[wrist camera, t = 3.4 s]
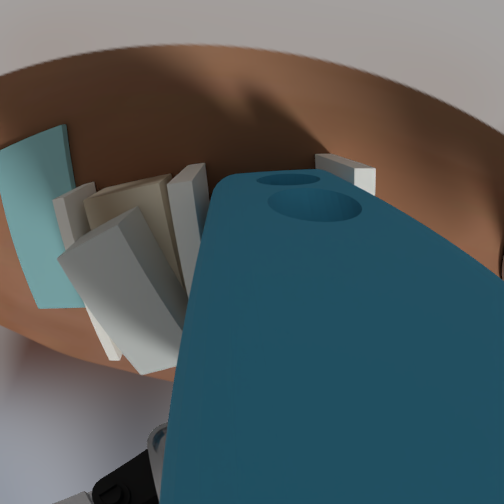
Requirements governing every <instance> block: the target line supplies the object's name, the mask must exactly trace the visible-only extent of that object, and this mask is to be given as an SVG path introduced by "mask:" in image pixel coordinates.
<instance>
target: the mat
mask: <svg viewBox="0 0 504 504" xmlns="http://www.w3.org/2000/svg"><path fill="white" fill-rule="evenodd" d="M75 188H76V185H75V180H74V175H73V169H72V163H71V157H70V150H69V143H68V135H67V126H66V124H63V125H59V126H56V127H54V128H51V129H48V130H46V131H43V132H41V133H38V134H36V135H33V136H31V137H28V138H26V139H24V140H21V141H19V142H17V143H15V144H12V145H10V146H8V147H6V148H4V149H2V150H0V193H1V198H2V202H3V206H4V210H5V214H6V218H7V222H8V226H9V229H10V233H11V236H12V240H13V243H14V246H15V249H16V252H17V255H18V258H19V261H20V264H21V267H22V269H23V272H24V275H25V277H26V280H27V282H28V285H29V287H30V290H31V292H32V295H33V297H34V299H35V302H36V304H37V306H38V308H39V309H42V308H79V307H85V304H84V302H83V300H82V298H81V297H80V295H79V294H78V293H77V291H76V289H75V288H74V286H73V285H72V283H71V282H70V280H69V279H68V277H67V275H66V274H65V272H64V271H63V269H62V267H61V266H60V264H59V262H58V261H57V258H58V257H59V256H60V255H61V254H62V253H63V252H64V251H65V247H64V244H63V240H62V237H61V233H60V230H59V226H58V222H57V218H56V214H55V210H54V206H53V201H52V200H53V199H55V198H57V197H59V196H61V195H63V194H65V193H67V192H69V191H71V190H73V189H75Z"/></svg>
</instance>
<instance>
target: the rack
mask: <svg viewBox="0 0 504 504" xmlns="http://www.w3.org/2000/svg"><path fill="white" fill-rule="evenodd" d="M315 167H316V169H321V170H325V171H328V172H330V173H332V174H334V175H336V176H338V177H340V178H342V179H344V180H346V181H348V182H350V183H352V184H353V185H355V186H357V187H359V188H361V189H363V190H365V191H367V192H368V193H370V194H372V195H374V196H375V178H376V168H373V167H371V166H368V165H365V164H362V163H359V162H356V161H353V160H350V159H347V158H344V157H340V156H337V155H334V154H331V153H330V154H315ZM167 189H168V196H169V202H170V208H171V214H172V220H173V225H174V231H175V236H176V242H177V247H178V252H179V257H180V262H181V267H182V272H183V277H184V281H185V286H186V290H187V295H188V299H189V294H190V290H191V285H192V280H193V275H194V270H195V266H196V261H197V256H198V252H199V247H200V243H201V238H202V234H203V230H204V225H205V221H206V217H207V213H208V208H209V204H210V200H209V192H208V184H207V175H206V167H205V163H199V164H191V165H187V166H186V167H185V168H184V169H183V170H182V171H181V172H180V173H179V174H177V175H176V176H175V177H174V178H173V179H172V180H171V181H170V182H169V183H168V184H167ZM95 193H96V188H95V183H94V182H91V183H86V184H83V185H81V186H79V187H77V188H75V189H73V190H71V191H69V192H67V193H65V194H63V195H61V196H59V197H57V198H55V199H53V200H52V201H53V206H54V210H55V214H56V218H57V222H58V226H59V230H60V233H61V237H62V240H63V244H64V247H65V250H67V249H68V248H69V247H70V246H71V245H72V244H73V243H74V242H75V241H77V240H78V239H79V238H80V237H81V236H83V235H84V234H86V233H88V232H90V231H91V229H90V225H89V222H88V218H87V214H86V211H85V207H84V203H83V200H85V199H86V198H88V197H90V196H91V195H93V194H95ZM83 302H84V301H83ZM84 304H85V303H84ZM85 307H86V309H87V312H88V314H89V317H90V319H91V321H92V324H93V326H94V328H95V330H96V333H97V335H98V337H99V339H100V341H101V344H102V346H103V348H104V350H105V352H106V354H107V356H108V358H109V360H120V358H121V356H122V352H121V351H120V350H119V348H118V347H117V346H116V345H115V343H114V342H113V341H112V340H111V338H110V337H109V336H108V334H107V333H106V332H105V330H104V329H103V328H102V326H101V325H100V324H99V322H98V321H97V320H96V318H95V317H94V316H93V314H92V313H91V311H90V310H89V309H88V307H87V306H86V304H85Z"/></svg>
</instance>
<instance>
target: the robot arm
mask: <svg viewBox="0 0 504 504" xmlns="http://www.w3.org/2000/svg"><path fill="white" fill-rule="evenodd" d="M502 280H503V281H504V257H503V263H502ZM167 426H168V422H167V423H164V424H161V425H159V426H158V427H156V428H155V429H154V430H153V431H152V432H151V433H150V435H149V437H148V440H147V448H148V449H146V450H145V451H144V452H142V453H141V454H139V455H138V456H136V457H135V458H133V459H132V460H130V461H129V462H127V463H125V464H124V465H122V466H121V467H119V468H118V469H116V470H115V471H113V472H111V473H110V474H108V475H106V476H105V477H103V478H102V479H100V480H99V481H98V482H97V483H96V484H95V486H94V487H93V490H92V491H91V492H88V493H86V492H85V491H84V492H81V493H79V494H77V495H74V496H72V497H69V498H67V499H64V500H62V501H59V502H57V503H54V504H159V501H160V489H161V478H162V469H163V459H164V450H165V442H166V434H167Z"/></svg>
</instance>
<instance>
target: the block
mask: <svg viewBox="0 0 504 504" xmlns="http://www.w3.org/2000/svg"><path fill="white" fill-rule="evenodd" d="M159 504H504V281H503V280H502V279H500V278H499V277H498V276H497V275H495V274H494V273H493V272H491V271H490V270H489V269H487V268H486V267H485V266H483V265H482V264H481V263H479V262H478V261H477V260H475V259H474V258H472V257H471V256H470V255H468V254H467V253H465V252H464V251H463V250H461V249H460V248H458V247H457V246H455V245H454V244H452V243H451V242H449V241H448V240H446V239H445V238H443V237H442V236H440V235H439V234H437V233H436V232H434V231H433V230H431V229H430V228H428V227H426V226H425V225H423V224H422V223H420V222H418V221H417V220H415V219H414V218H412V217H410V216H409V215H407V214H405V213H404V212H402V211H400V210H398V209H397V208H395V207H393V206H392V205H390V204H388V203H386V202H385V201H383V200H381V199H379V198H377V197H376V196H374V195H372V194H370V193H368V192H367V191H365V190H363V189H361V188H359V187H357V186H355V185H353V184H352V183H350V182H348V181H346V180H344V179H342V178H340V177H338V176H336V175H334V174H332V173H330V172H328V171H325V170H321V169H303V170H283V171H266V172H252V173H240V174H233V175H229V176H227V177H225V178H223V179H222V180H221V181H220V182H219V183H217V185H216V187H215V188H214V190H213V193H212V196H211V200H210V204H209V208H208V213H207V217H206V221H205V225H204V230H203V234H202V238H201V243H200V247H199V252H198V256H197V261H196V266H195V270H194V275H193V280H192V285H191V290H190V294H189V300H188V305H187V310H186V315H185V320H184V326H183V331H182V337H181V342H180V348H179V354H178V360H177V366H176V372H175V378H174V384H173V391H172V398H171V405H170V412H169V419H168V426H167V434H166V442H165V450H164V459H163V469H162V478H161V489H160V501H159Z"/></svg>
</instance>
